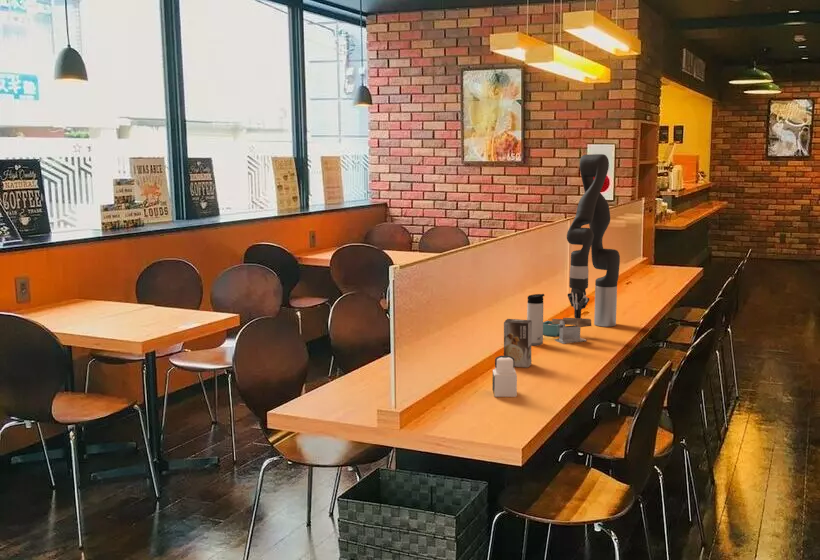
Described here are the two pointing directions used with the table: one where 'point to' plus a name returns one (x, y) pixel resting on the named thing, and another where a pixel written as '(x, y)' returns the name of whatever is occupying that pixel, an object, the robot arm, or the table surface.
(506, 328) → the coffee box
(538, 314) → the travel mug
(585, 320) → the lever
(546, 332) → the teal square bin
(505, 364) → the medicine bottle
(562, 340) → the fulcrum
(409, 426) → the table surface
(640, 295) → the table surface
